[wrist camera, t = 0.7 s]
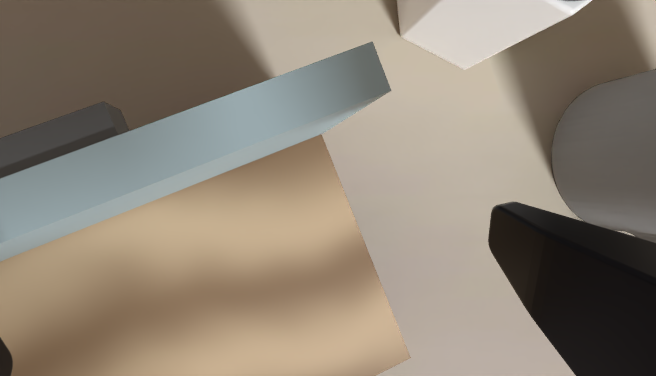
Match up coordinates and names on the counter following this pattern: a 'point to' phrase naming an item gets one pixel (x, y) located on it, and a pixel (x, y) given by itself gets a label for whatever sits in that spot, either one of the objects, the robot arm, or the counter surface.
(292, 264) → the cart bed
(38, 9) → the counter surface
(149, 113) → the counter surface
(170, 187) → the grey flat slab
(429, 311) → the counter surface
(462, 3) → the jar
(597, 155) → the grey mug
